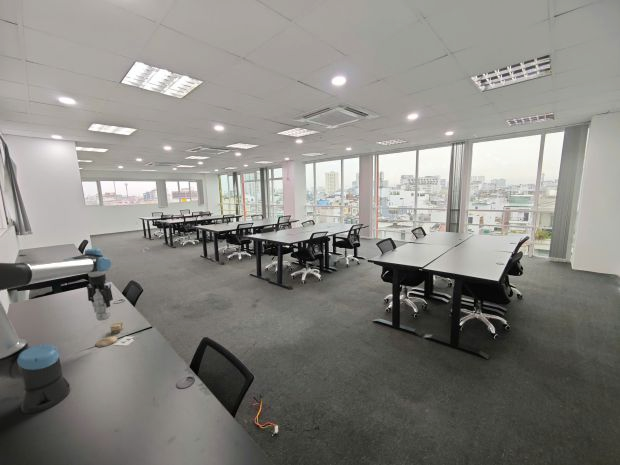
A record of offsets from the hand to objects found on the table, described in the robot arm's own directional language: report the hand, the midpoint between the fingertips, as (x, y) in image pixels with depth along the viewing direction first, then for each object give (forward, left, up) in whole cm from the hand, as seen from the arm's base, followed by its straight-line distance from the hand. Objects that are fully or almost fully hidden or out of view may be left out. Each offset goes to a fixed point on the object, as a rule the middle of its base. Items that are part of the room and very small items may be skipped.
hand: (102, 311), depth 151 cm
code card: (+2, -11, -20) cm, 23 cm away
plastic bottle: (0, 0, -5) cm, 5 cm away
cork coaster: (0, 0, -20) cm, 20 cm away
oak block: (+12, +4, -20) cm, 24 cm away
